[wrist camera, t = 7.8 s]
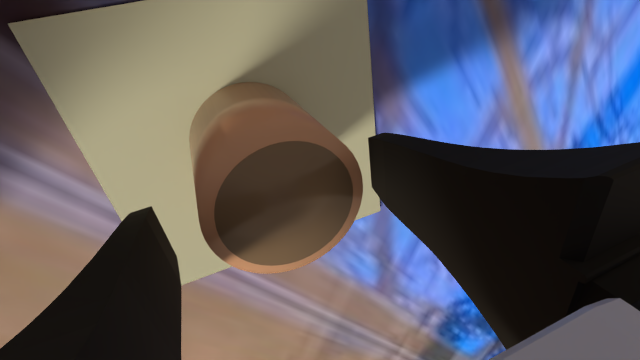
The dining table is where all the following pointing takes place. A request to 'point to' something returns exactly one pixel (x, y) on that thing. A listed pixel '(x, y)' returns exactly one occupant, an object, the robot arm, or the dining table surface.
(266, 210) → the terracotta pot
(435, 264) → the dining table surface
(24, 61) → the dining table surface
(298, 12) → the potting mat
